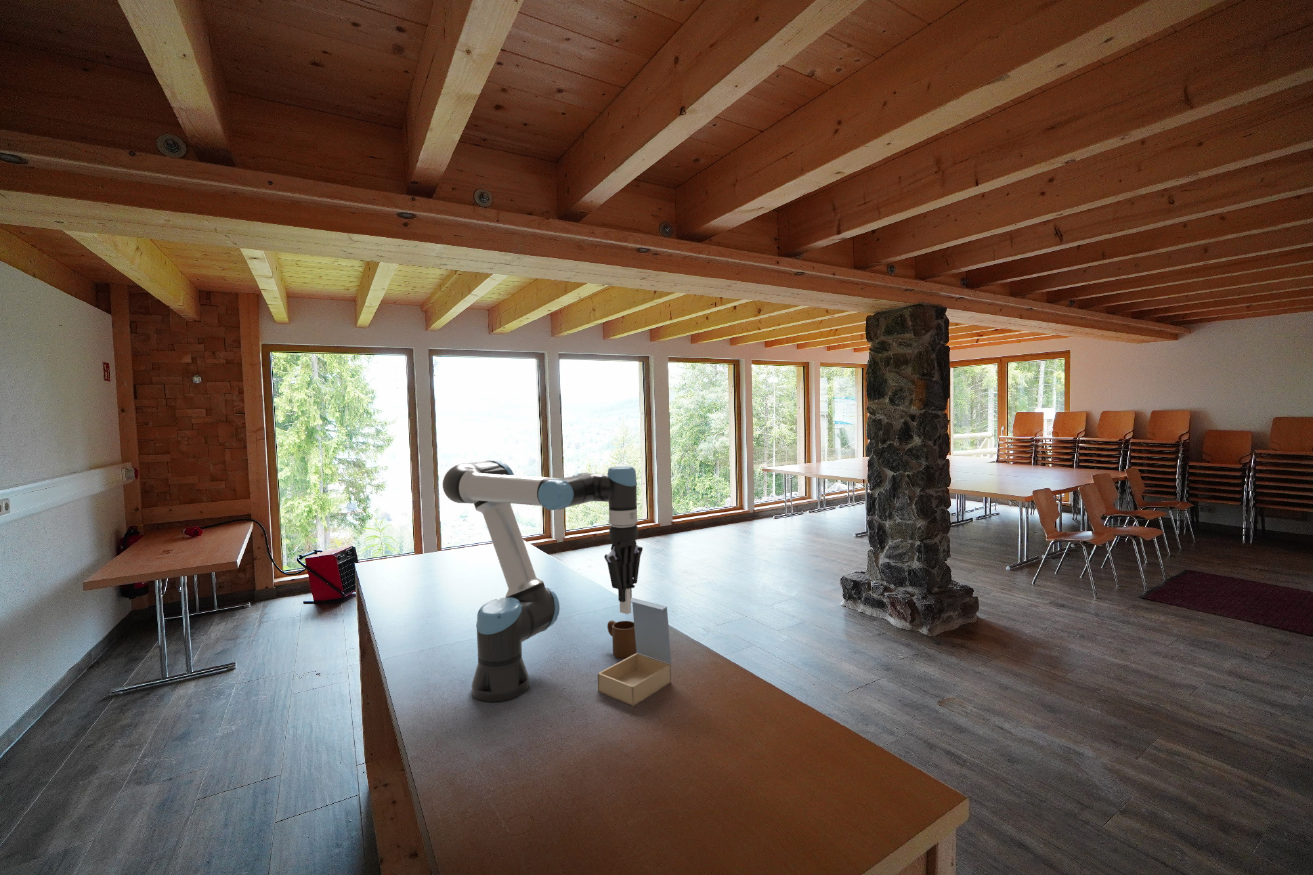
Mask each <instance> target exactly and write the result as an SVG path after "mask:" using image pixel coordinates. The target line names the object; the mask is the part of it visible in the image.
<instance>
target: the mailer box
mask: <svg viewBox="0 0 1313 875" xmlns="http://www.w3.org/2000/svg"><path fill="white" fill-rule="evenodd" d="M671 668H672V664H670V663H667V662H664V661H661V660H658V659H655V658H652V657H649V656H646V655H643V654H640V653H636V654H634V655H632V656H630V657H628V658H626V659H621V661H619V662H616V663H614V664H613V665H611V666H609V667H607V668H605V669H604V670H602V671H599V672H597V692H598V693H600V694H602V695H605V696H607V697H610V698H613V699H615V700H617V701H619V702H622V703H623V704H627V705H629V706H631V707H635V706H637V705H638V704H639V703H641V702H642V701H644V700H645V699H647V698H649V697H650V696H652V695H653V694H655V693H657V692H658V691H660V690H661V689H663V688H664V687H666V686H668V685H669V684H671V683H672V680H671V679H672V670H671Z"/></svg>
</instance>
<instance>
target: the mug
mask: <svg viewBox="0 0 1313 875" xmlns="http://www.w3.org/2000/svg"><path fill="white" fill-rule="evenodd" d="M606 629H607V631H608V634H609V635H610V636H611V637H612V638H611V639H612V640H611V641H612V654H613V657H615V658H616V659H619V660H624V659H626V658H628V657H630V656H632V655H634V654H636V653H637V650H636V639H635V628H634V621H631V620H621V621H617V622H616V621H615V620H609V621H608V622H607V628H606ZM637 654H638V653H637Z"/></svg>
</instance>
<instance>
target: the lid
mask: <svg viewBox="0 0 1313 875" xmlns="http://www.w3.org/2000/svg"><path fill="white" fill-rule="evenodd" d="M631 606H632V615H633V622H634V628H635V639H636V650H637V654H640V655H643V656H646V657H649V658H652V659H655V660H658V661H661V662H664V663H667V664H670V665H672V663H673V662H672V652H671V639H670V629H669V627H670V626H669V614H668V606H666V605H662V604H657V603H654V602H650V601H646V600H642V599H639V598H635V597H632V598H631Z"/></svg>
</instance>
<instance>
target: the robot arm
mask: <svg viewBox="0 0 1313 875" xmlns="http://www.w3.org/2000/svg"><path fill="white" fill-rule="evenodd" d="M636 472H637V471H636V469H635V468H634V467H632V466H626V465H625V466H619V465H618V466H612V467H609V468H608V470H607V473H589V472H581V473H579V472H578V473H574V474H573V475H572V476H568V477H548V476H547V477H546V476H545V477H544V476H533V475H532V476H529V475H515V474H514V472H513V470H512V468H511V467H510V466H509V465H508V464H507V463H506V462H503V461H501V460H486V461H484V460H483V461H477V462H469V463H468V462H466V463H459V464H456V465H454V466H452V467H451V468H450V469H449V470H447V472H446V473H445V474H444V476H443V480H442V490H443V493H444V495H446V497H447V498H448V499H449V500H450V501H452V502H453V503H458V504H470V505H471V504H473V507H474V508H475V510H476V511H477V512H479V513H481V514H482V515H483V518H484V522H485V525H486V527H487V531H488V533H489V536H490V539H491V541H492V544H493V548H494V551H495V554H496V557H497V559H498V561H499V562H498V564H499V565H500V568H501V571H502V574H503V577H504V579H505V583H506V586H507V588H508V589H507V592H506V594H505V597H500V598H498V599H497V598H496V599H492V600H490V601H488V602H486V603H485V604H483V605H482V606H481V607H480V608H479V610H478V611H477V614H476V616H477V617H476V624H475V626H476V638H477V666H476V670H475V673H474V676H473V679H472V682H471V694H472V696H473V698H475V699H476V700H478V701H480V702H481V701H482V702H487V703H488V702H489V703H491V702H493V703H495V702H505V701H509V700H511V699H515V698H517V697H519V696H521V695H523V694H524V693H525V692H526V691H527V690H528V688H529V686H530V676H529V673H528V670H527V667H526V665H525V662H524V659H523V653H522V652H523V646H522V644H523V642H524V641H527V640H528V639H530V638H532V637H535V636H536V635H538V634H539V633H542V632H545V631H546V630H548V629H549V628H550V627H552V626H553V625H554V624H555V623H556V622H557V620H558V617H559V616H560V615H559V614H560V611H561V610H560V609H561V608H560V605H561V604H560V600H559V598H558V595H557V594H556V593H555V592H554V591H553V590H552V589H551V588H549V587H546V585H545V583H544V581H543V580H541V579H540V578H538V577H537V576H536V573H535V570H534V567H533V565H532V564H533V563H532V562H531V559H530V556H529V552H528V550H527V547H526V544H525V541H524V539H523V536H522V533H521V530H520V528H519V525H518V524H519V523H518V522H517V519H516V516H515V513H514V510H513V507H512V504H515V505H527V506H540V507H543V508H545V509H546V510H548V511H557V510H559V511H560V510H563V509H566V508H569V507H574V506H578V505H582V504H586V503H590V502H605V503H606V502H607V503H608V523H609V532H608V534H609V540H611V547H610V551H609V553H608V554H607V553H605V554H604V556H603V557H604V560H605V562H606V564H607V568H608V573H609V579H610V582H611V587H612V588H613V589H617V591H618V592H617V594H618V601H619V613H621V614H625V615H629V614H631V613H632V603H631V598H633V595H632V594H633V593H632V592H633V591H632V589H635V587H636V584H637V583H638V578H639V570H640V562H641V555H642V553H643V549H644V548H643V546H638V544H637V541H636V540H637V539H638V538H639V537H638V536H639V534H638V532H639V530H638V529H639V528H638V525H637V523H638V505H637V504H638V500H637V495H638V494H637V492H638V491H637V490H638V489H637V485H638V482H637V473H636Z"/></svg>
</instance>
